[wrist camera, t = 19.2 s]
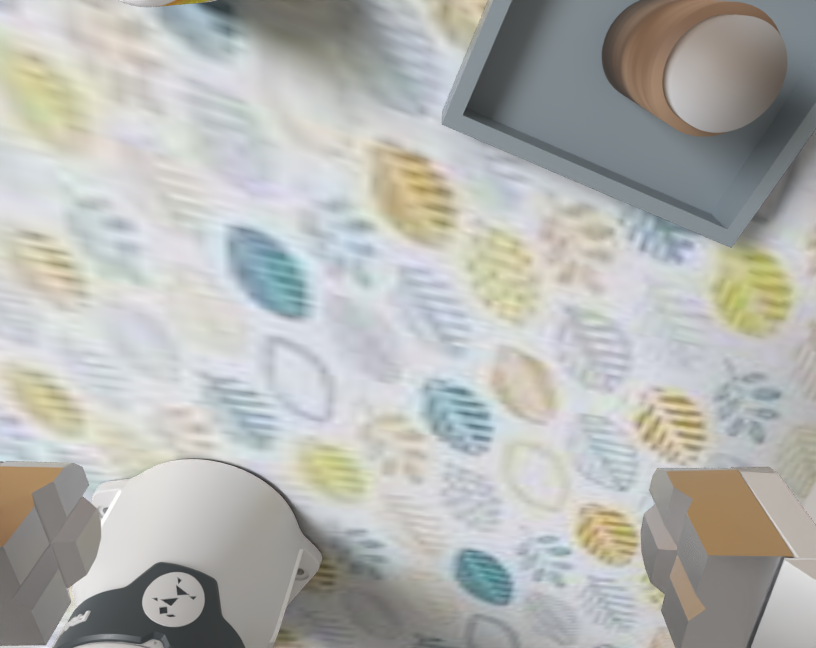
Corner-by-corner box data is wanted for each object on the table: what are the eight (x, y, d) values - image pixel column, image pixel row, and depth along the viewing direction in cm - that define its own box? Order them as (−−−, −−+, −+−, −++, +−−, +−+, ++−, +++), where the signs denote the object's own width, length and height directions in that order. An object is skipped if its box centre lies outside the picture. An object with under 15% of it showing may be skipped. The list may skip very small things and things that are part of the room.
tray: (708, 225, 37) (731, 247, 34) (442, 111, 35) (441, 124, 32) (879, -28, 31) (926, -28, 28) (565, -188, 29) (579, -208, 25)
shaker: (668, 112, 33) (749, 161, 24) (585, 80, 33) (636, 118, 24) (718, 16, 31) (828, 31, 22) (630, -19, 31) (705, -19, 22)
